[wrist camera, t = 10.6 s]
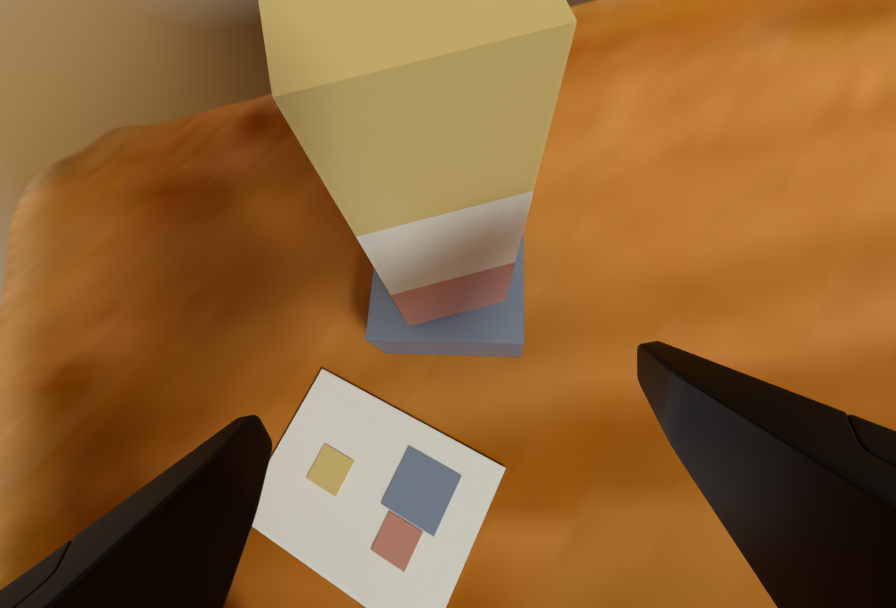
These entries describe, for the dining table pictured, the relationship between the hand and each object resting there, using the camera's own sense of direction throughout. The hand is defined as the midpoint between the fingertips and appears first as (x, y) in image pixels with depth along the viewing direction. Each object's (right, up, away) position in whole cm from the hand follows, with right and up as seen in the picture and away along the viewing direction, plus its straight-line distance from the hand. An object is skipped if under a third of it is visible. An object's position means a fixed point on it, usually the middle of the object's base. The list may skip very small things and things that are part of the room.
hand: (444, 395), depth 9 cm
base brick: (+1, +3, +15) cm, 15 cm away
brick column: (0, +4, +11) cm, 12 cm away
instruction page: (-4, -8, +12) cm, 15 cm away
